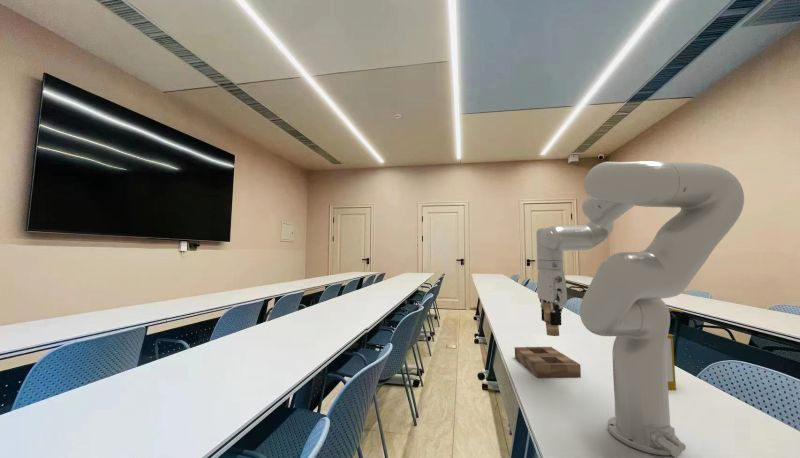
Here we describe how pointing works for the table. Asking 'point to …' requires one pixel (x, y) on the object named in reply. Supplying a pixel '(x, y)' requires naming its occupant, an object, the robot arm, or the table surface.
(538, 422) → the table surface
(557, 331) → the peg
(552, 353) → the board
